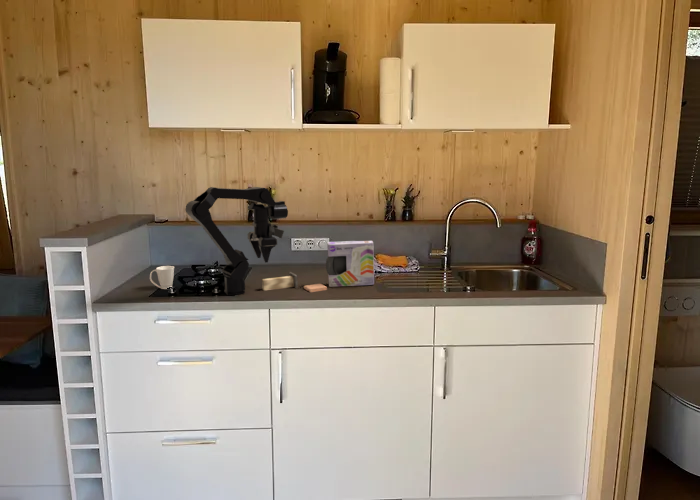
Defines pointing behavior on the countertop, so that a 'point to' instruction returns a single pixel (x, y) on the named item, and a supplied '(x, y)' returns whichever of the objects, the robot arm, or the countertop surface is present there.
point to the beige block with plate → (280, 282)
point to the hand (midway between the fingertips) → (262, 260)
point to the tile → (315, 287)
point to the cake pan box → (350, 263)
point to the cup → (164, 276)
